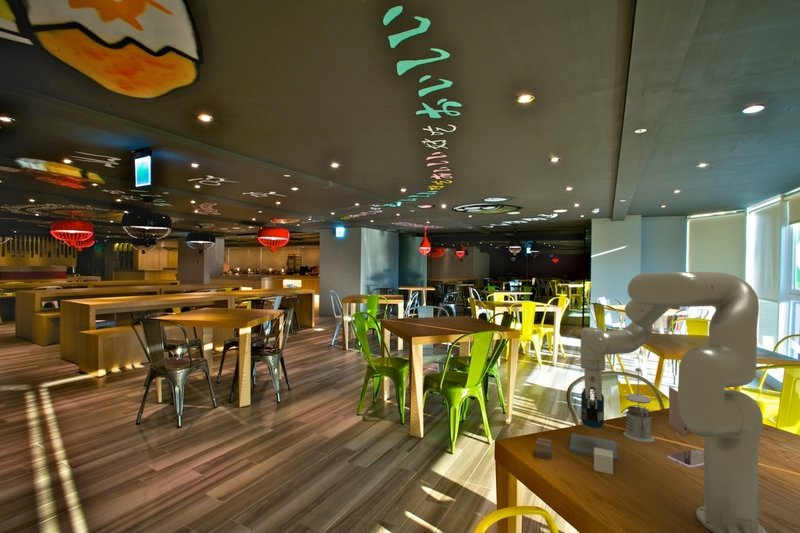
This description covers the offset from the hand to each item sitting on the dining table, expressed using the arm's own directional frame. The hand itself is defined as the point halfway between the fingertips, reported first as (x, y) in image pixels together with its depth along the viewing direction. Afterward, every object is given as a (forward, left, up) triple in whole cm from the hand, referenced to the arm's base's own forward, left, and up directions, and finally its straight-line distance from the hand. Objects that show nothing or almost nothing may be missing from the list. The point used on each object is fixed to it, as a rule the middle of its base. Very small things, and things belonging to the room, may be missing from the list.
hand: (592, 416), depth 128 cm
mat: (0, 0, -11) cm, 11 cm away
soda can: (0, 0, -3) cm, 3 cm away
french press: (+18, -15, -11) cm, 26 cm away
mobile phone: (+8, -29, -11) cm, 32 cm away
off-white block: (-14, -3, -11) cm, 18 cm away
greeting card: (+34, -29, -11) cm, 46 cm away
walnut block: (-14, +14, -11) cm, 23 cm away
